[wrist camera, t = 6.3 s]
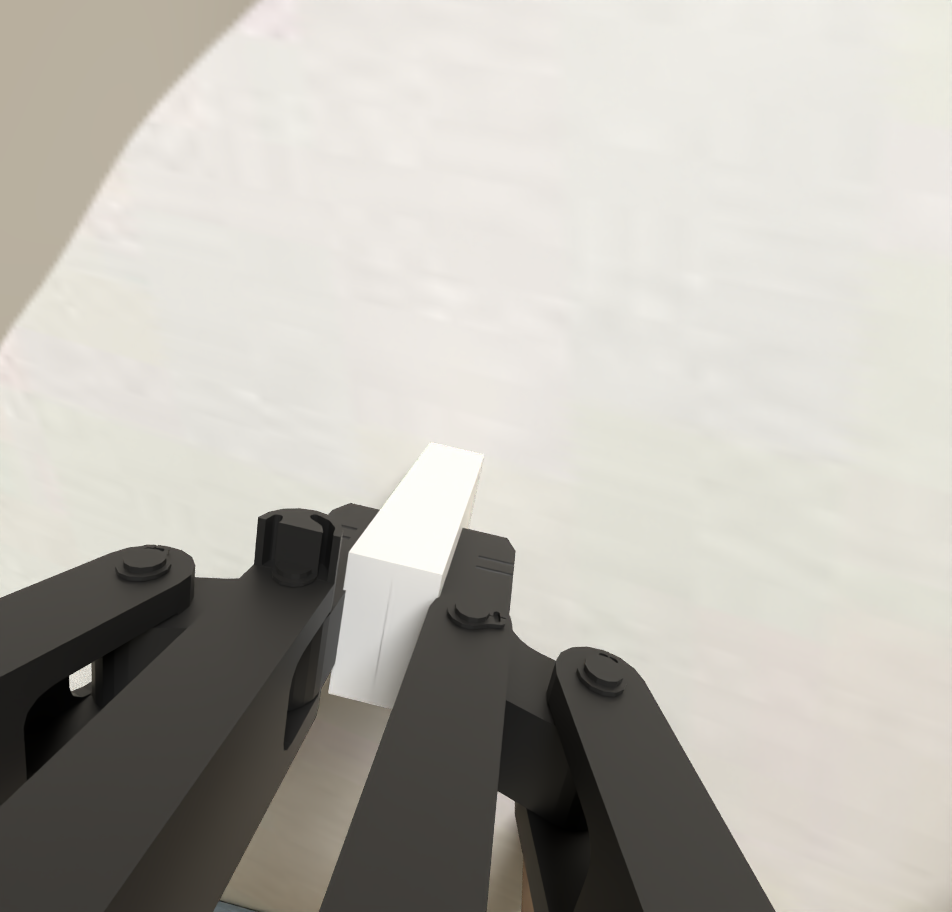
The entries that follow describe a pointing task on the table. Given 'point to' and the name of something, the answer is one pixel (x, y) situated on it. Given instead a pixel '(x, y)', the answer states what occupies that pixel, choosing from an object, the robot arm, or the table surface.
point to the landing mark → (229, 908)
